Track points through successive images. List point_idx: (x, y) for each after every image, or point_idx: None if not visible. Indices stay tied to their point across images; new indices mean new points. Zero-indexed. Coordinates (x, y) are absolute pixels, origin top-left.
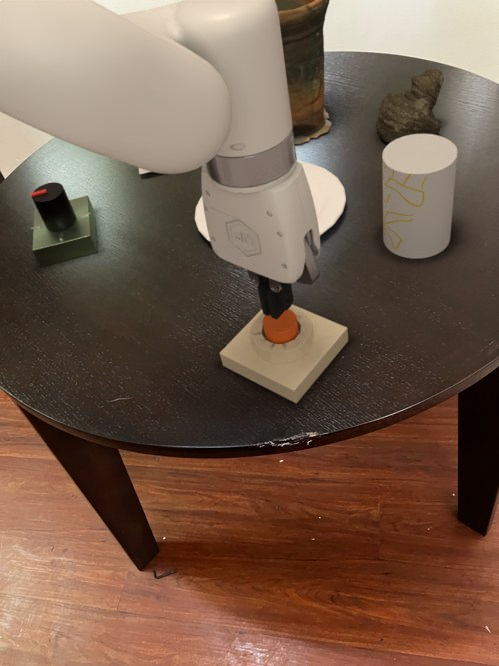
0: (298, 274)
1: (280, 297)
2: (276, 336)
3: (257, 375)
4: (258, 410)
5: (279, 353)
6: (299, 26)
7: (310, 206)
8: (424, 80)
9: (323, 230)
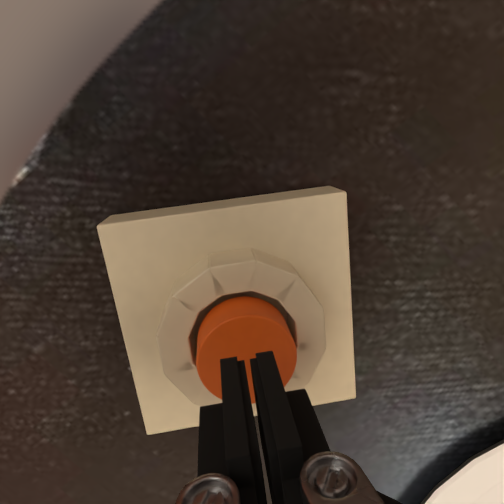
0: None
1: (207, 452)
2: (220, 315)
3: (219, 206)
4: (164, 143)
5: (187, 281)
6: None
7: None
8: None
9: None
